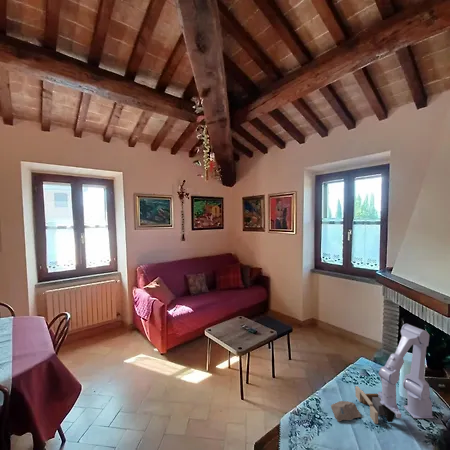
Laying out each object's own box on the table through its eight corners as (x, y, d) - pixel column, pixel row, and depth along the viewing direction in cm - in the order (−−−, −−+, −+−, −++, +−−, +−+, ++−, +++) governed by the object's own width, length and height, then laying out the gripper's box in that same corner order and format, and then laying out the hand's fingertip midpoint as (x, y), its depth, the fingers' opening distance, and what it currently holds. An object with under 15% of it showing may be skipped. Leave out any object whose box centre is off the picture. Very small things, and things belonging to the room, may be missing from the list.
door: (362, 402, 133) (362, 393, 132) (377, 402, 132) (377, 393, 132) (364, 406, 130) (364, 396, 130) (380, 406, 130) (380, 396, 130)
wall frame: (358, 395, 138) (358, 384, 138) (378, 423, 119) (377, 410, 119) (355, 395, 138) (355, 384, 138) (375, 423, 119) (374, 410, 119)
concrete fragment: (363, 419, 122) (363, 407, 121) (337, 423, 120) (337, 411, 120) (354, 409, 129) (354, 397, 128) (329, 412, 127) (329, 400, 127)
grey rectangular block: (380, 406, 130) (380, 397, 130) (388, 415, 124) (387, 405, 124) (372, 406, 130) (372, 397, 130) (379, 415, 124) (378, 405, 124)
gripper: (372, 383, 126) (372, 409, 126) (390, 404, 112) (390, 433, 112) (386, 383, 126) (386, 409, 126) (405, 404, 111) (406, 433, 112)
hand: (389, 420), depth 119 cm, fingers closed
